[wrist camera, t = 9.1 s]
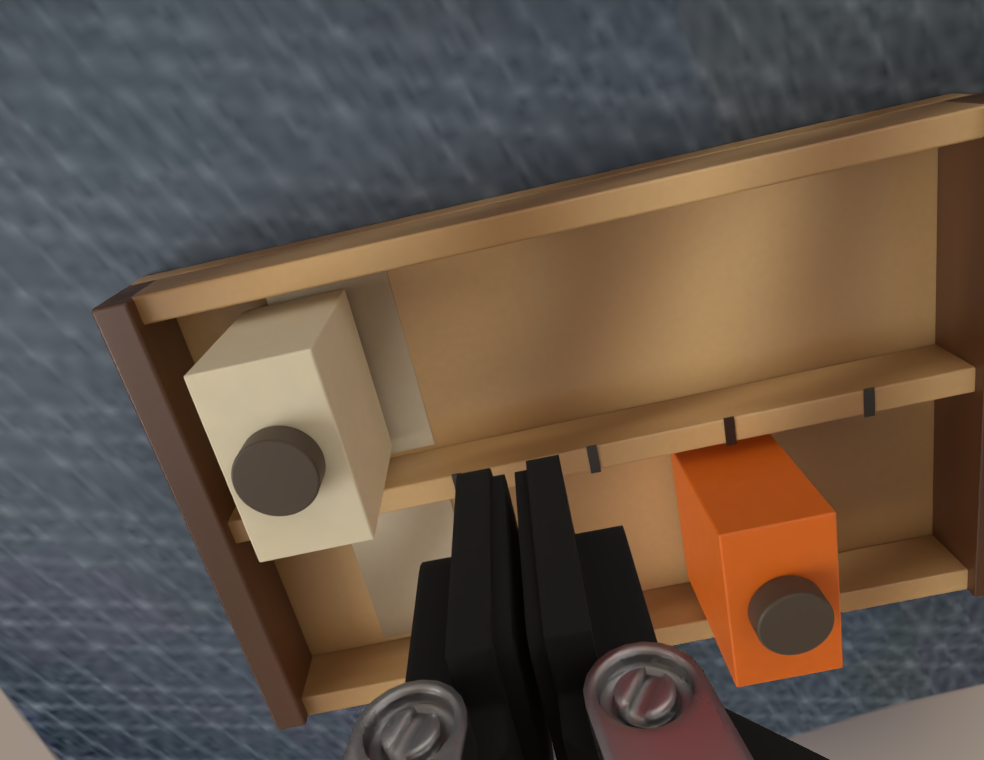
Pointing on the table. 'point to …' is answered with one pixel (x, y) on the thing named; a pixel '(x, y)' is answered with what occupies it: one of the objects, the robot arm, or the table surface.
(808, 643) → the orange block with knob
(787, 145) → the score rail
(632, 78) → the table surface
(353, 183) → the table surface
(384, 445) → the cream block with knob
